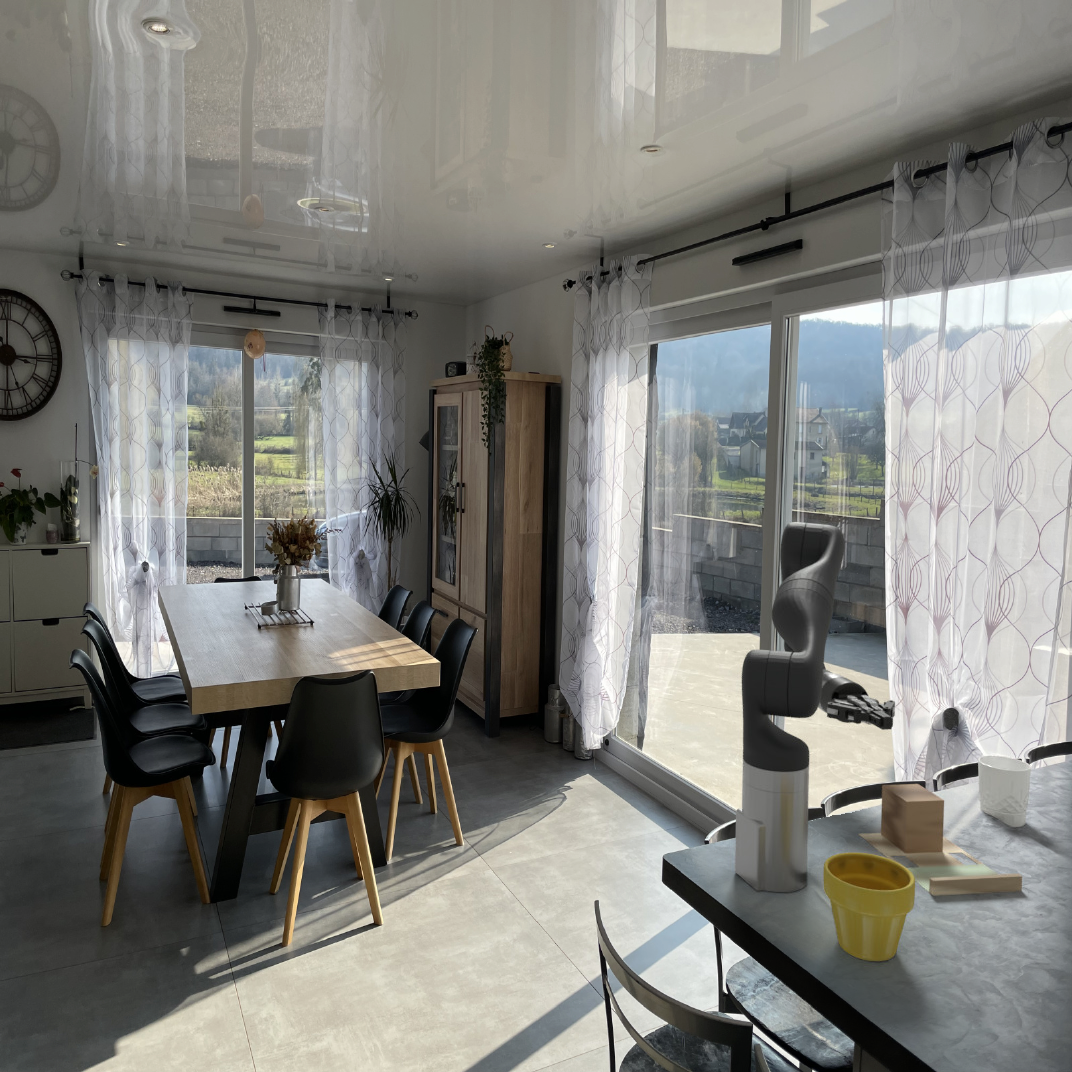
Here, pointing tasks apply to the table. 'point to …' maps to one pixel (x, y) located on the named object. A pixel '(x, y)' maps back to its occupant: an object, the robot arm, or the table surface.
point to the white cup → (1004, 788)
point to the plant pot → (868, 902)
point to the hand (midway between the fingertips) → (888, 723)
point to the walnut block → (912, 818)
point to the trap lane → (948, 870)
